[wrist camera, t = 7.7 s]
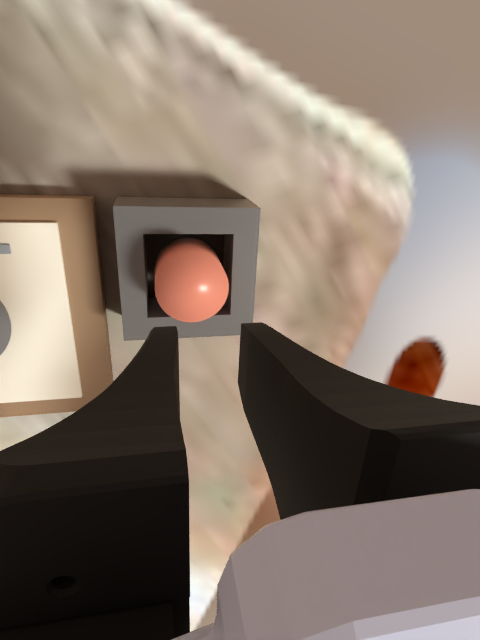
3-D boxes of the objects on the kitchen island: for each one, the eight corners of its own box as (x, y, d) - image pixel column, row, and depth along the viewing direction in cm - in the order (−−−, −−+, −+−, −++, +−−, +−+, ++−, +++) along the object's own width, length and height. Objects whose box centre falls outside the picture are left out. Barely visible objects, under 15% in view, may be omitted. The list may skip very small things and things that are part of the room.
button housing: (127, 317, 21) (123, 340, 18) (117, 196, 18) (112, 206, 16) (242, 313, 22) (251, 334, 20) (247, 198, 19) (260, 208, 17)
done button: (156, 300, 19) (156, 323, 17) (153, 237, 18) (153, 253, 16) (219, 298, 20) (227, 321, 17) (220, 237, 18) (230, 252, 16)
